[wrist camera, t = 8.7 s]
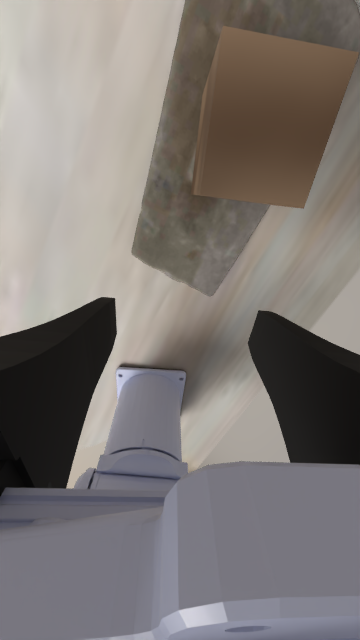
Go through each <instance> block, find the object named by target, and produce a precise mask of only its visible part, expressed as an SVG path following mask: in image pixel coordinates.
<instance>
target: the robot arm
mask: <svg viewBox="0 0 360 640" xmlns="http://www.w3.org/2000/svg"><path fill="white" fill-rule="evenodd" d="M116 334H117V329H116V309H115V298H106V297H101V298H98V299H96V300H94V301H92V302H90V303H88V304H86V305H84V306H82V307H80V308H78V309H76V310H74V311H72V312H70V313H68V314H66V315H63V316H61V317H59V318H57V319H54V320H52V321H50V322H47V323H44V324H41V325H39V326H36V327H33V328H30V329H27V330H23V331H20V332H16V333H12V334H9V335H5V336H2V337H0V640H360V355H358V354H356V353H354V352H351V351H349V350H347V349H344V348H342V347H339V346H337V345H335V344H333V343H331V342H328V341H327V340H325V339H323V338H321V337H319V336H316V335H315V334H313V333H311V332H309V331H307V330H305V329H304V328H302V327H300V326H298V325H296V324H295V323H293V322H291V321H289V320H287V319H285V318H284V317H282V316H280V315H278V314H275V313H273V312H270V311H258V314H257V317H256V320H255V323H254V326H253V329H252V332H251V335H250V338H249V341H248V345H249V349H250V353H251V356H252V359H253V362H254V364H255V366H256V368H257V371H258V373H259V375H260V377H261V379H262V381H263V383H264V386H265V388H266V390H267V392H268V394H269V396H270V399H271V401H272V404H273V406H274V409H275V412H276V415H277V418H278V421H279V424H280V428H281V431H282V434H283V438H284V441H285V444H286V448H287V452H288V456H289V459H290V463H279V462H245V461H239V462H230V463H221V464H213V465H207V466H204V467H202V468H200V469H197V470H195V471H193V472H190V473H188V464H187V463H186V462H182V456H181V424H180V410H181V404H182V398H183V392H184V386H185V380H186V372H184V371H177V370H161V369H145V368H128V367H119V368H117V370H116V381H117V398H118V402H117V406H116V410H115V414H114V417H113V421H112V425H111V429H110V432H109V436H108V440H107V444H106V447H105V451H104V455H101V456H100V460H99V462H98V466H97V469H94V468H88V469H87V470H86V472H85V473H84V474H82V475H81V476H80V477H79V478H78V480H77V482H76V484H75V486H74V488H73V489H66V486H67V483H68V479H69V475H70V471H71V467H72V463H73V460H74V456H75V452H76V449H77V445H78V441H79V438H80V434H81V431H82V428H83V424H84V421H85V418H86V414H87V411H88V408H89V405H90V402H91V399H92V395H93V393H94V390H95V388H96V385H97V383H98V381H99V379H100V376H101V374H102V372H103V370H104V367H105V365H106V363H107V361H108V358H109V356H110V354H111V351H112V349H113V345H114V342H115V338H116ZM120 374H122V375H120Z"/></svg>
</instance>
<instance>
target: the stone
mask: <svg viewBox="0 0 360 640" xmlns="http://www.w3.org/2000/svg"><path fill="white" fill-rule="evenodd" d="M223 26H227V27H232V28H238V29H243V30H248V31H253V32H258V33H263V34H268V35H273V36H278V37H283V38H288V39H293V40H299V41H304V42H309V43H314V44H319V45H324V46H329V47H334V48H339V49H344V50H349V51H354V52H359V54H360V14H359V11H358V7H357V4H356V3H355V1H354V0H185V5H184V9H183V14H182V18H181V22H180V28H179V34H178V39H177V43H176V47H175V51H174V56H173V60H172V66H171V71H170V76H169V80H168V85H167V89H166V94H165V98H164V103H163V108H162V113H161V118H160V122H159V127H158V131H157V136H156V141H155V145H154V150H153V155H152V160H151V164H150V169H149V174H148V178H147V183H146V187H145V191H144V195H143V200H142V207H141V213H140V216H139V219H138V224H137V228H136V233H135V238H134V242H133V247H132V255H133V256H135V257H136V258H138V259H139V260H141V261H142V262H143V263H145V264H147V265H149V266H151V267H152V268H155V269H157V270H160V271H162V272H163V273H165V274H166V275H167V276H169V277H170V278H172V279H174V280H176V281H179V282H183V283H186V284H187V285H189V286H190V287H192V288H195V289H197V290H199V291H200V292H202V293H203V294H205V295H208V296H212V295H213V294H214V293H215V291H216V290H217V288H218V287H219V285H220V284H221V282H222V280H223V279H224V277H225V275H226V274H227V272H228V271H229V269H230V268H231V267H232V265H233V264H234V262H235V261H236V259H237V258H238V256H239V254H240V253H241V251H242V250H243V248H244V246H245V244H246V243H247V241H248V239H249V238H250V236H251V234H252V233H253V231H254V230H255V228H256V227H257V225H258V224H259V222H260V220H261V218H262V217H263V215H264V214H265V212H266V210H267V209H268V207H269V204H260V203H252V202H245V201H237V200H229V199H222V198H214V197H206V196H199V195H191V187H192V179H193V171H194V162H195V154H196V145H197V137H198V129H199V120H200V112H201V103H202V95H203V92H204V88H205V85H206V82H207V78H208V75H209V72H210V68H211V65H212V61H213V58H214V55H215V51H216V48H217V45H218V41H219V38H220V34H221V31H222V28H223ZM358 58H359V55H358ZM358 58H357V61H358ZM357 61H356V63H357ZM356 63H355V65H356ZM354 67H355V66H354Z"/></svg>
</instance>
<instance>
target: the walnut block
mask: <svg viewBox="0 0 360 640" xmlns="http://www.w3.org/2000/svg"><path fill="white" fill-rule="evenodd" d="M358 55H359V52H354V51H349V50H344V49H339V48H334V47H329V46H324V45H319V44H314V43H309V42H304V41H299V40H293V39H288V38H283V37H278V36H273V35H268V34H263V33H258V32H253V31H248V30H243V29H238V28H232V27H227V26H223V28H222V31H221V34H220V38H219V41H218V45H217V48H216V51H215V55H214V58H213V61H212V65H211V68H210V72H209V75H208V78H207V82H206V85H205V88H204V92H203V95H202V103H201V112H200V120H199V129H198V137H197V145H196V154H195V162H194V171H193V179H192V187H191V195H199V196H206V197H214V198H222V199H229V200H237V201H245V202H252V203H260V204H269V205H278V206H287V207H295V208H304V206H305V203H306V200H307V198H308V195H309V192H310V189H311V186H312V184H313V181H314V178H315V175H316V172H317V170H318V167H319V164H320V161H321V158H322V156H323V153H324V150H325V147H326V145H327V142H328V139H329V136H330V133H331V131H332V128H333V125H334V122H335V119H336V117H337V114H338V111H339V108H340V105H341V103H342V100H343V97H344V94H345V91H346V89H347V86H348V83H349V80H350V77H351V75H352V72H353V69H354V66H355V63H356V61H357V58H358Z"/></svg>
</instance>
